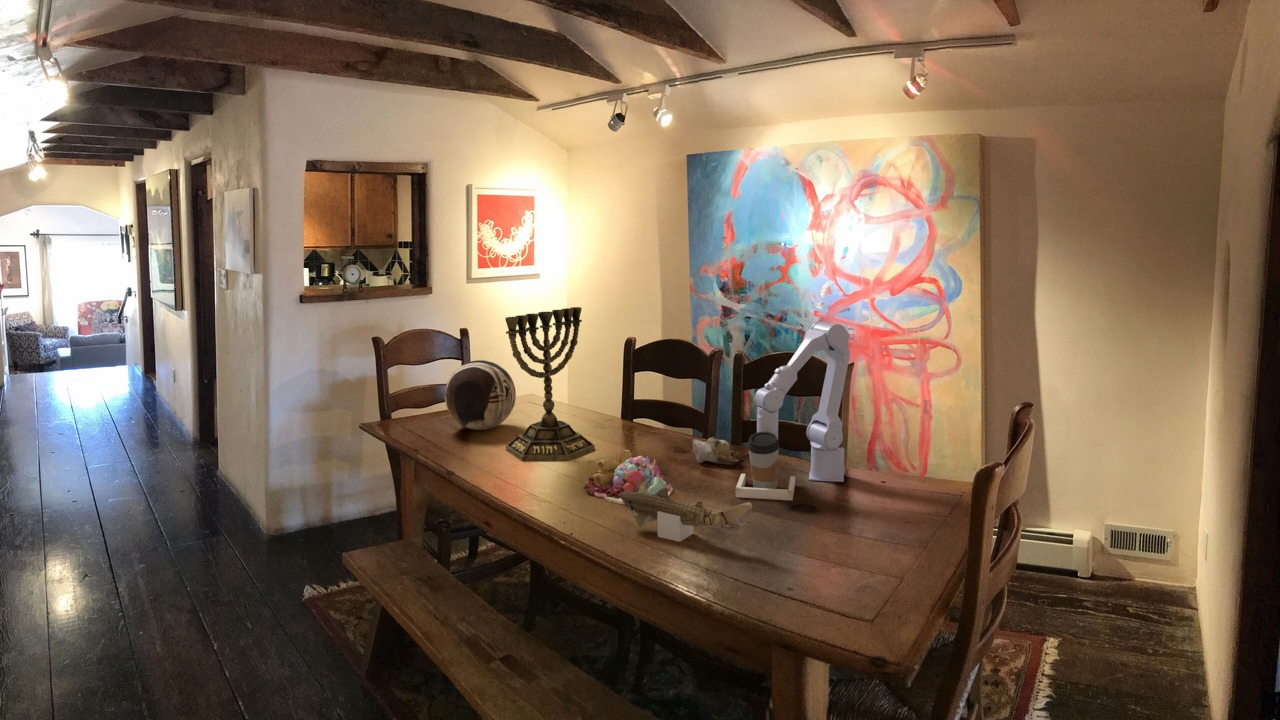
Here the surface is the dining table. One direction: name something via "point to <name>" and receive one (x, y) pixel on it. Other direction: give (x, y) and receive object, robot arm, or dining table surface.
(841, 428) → the robot arm
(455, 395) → the sphere
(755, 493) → the dock
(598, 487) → the candy landscape model
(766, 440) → the coffee cup
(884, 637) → the dining table surface
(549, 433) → the menorah
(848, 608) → the dining table surface
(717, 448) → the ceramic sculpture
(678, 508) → the wood carving
